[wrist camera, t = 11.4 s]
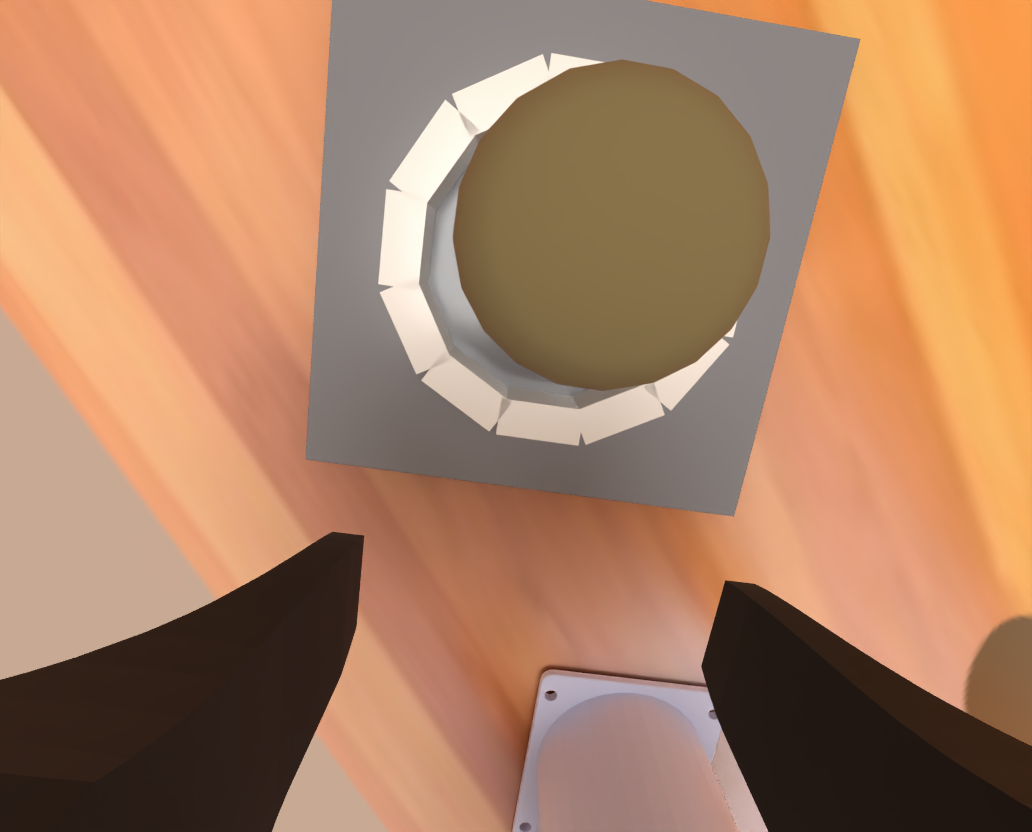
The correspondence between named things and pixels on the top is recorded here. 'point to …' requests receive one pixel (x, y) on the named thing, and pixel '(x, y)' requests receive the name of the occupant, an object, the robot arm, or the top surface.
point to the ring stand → (433, 267)
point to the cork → (612, 225)
